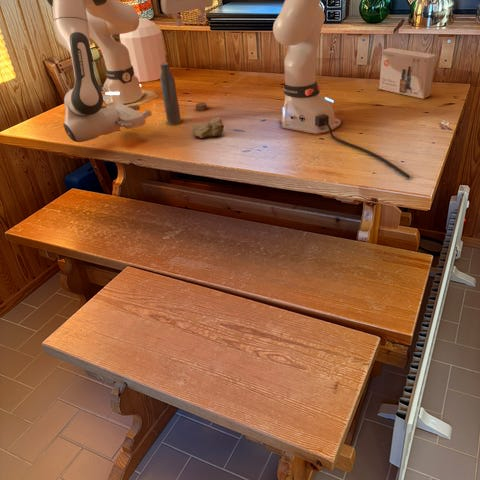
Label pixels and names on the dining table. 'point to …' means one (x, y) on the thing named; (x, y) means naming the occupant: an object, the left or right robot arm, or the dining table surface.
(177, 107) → the bottle
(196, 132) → the rock
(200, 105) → the cap
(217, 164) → the dining table surface
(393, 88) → the skincare box
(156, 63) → the container
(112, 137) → the dining table surface
